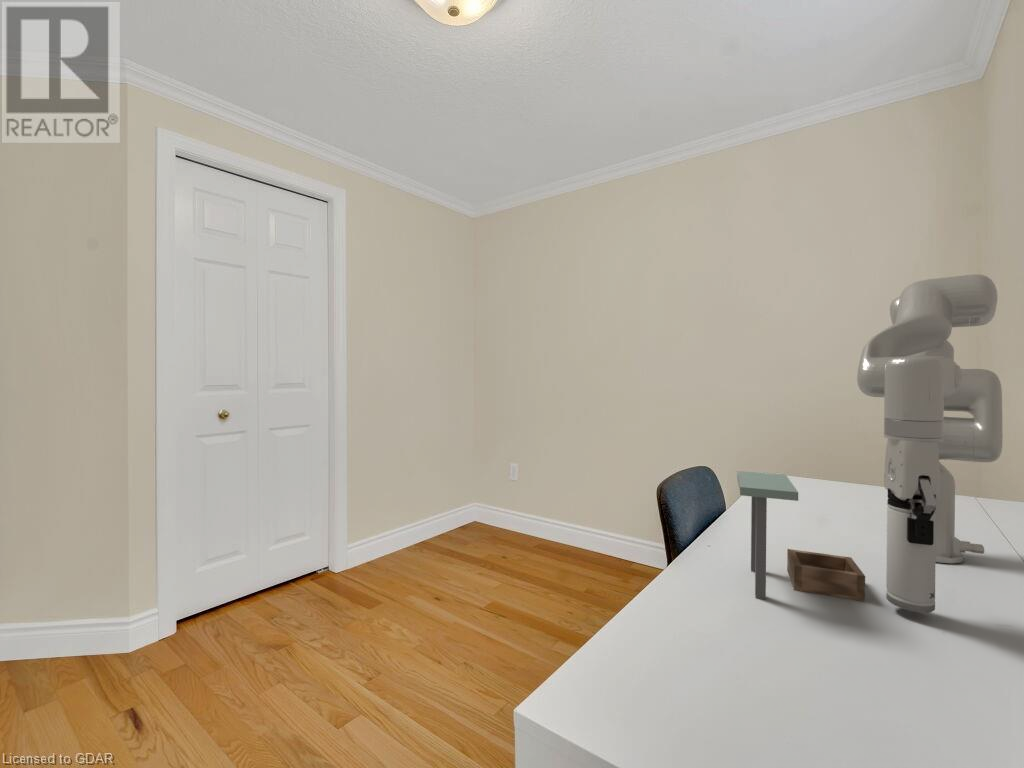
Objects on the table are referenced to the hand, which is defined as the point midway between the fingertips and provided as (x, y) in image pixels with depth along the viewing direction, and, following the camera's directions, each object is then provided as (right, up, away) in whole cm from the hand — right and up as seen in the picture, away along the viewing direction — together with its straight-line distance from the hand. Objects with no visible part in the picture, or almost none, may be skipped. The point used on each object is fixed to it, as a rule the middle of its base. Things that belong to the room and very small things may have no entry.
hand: (911, 535), depth 78 cm
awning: (-20, -13, +12) cm, 26 cm away
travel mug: (0, -12, 0) cm, 12 cm away
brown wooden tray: (-7, -13, +11) cm, 19 cm away
